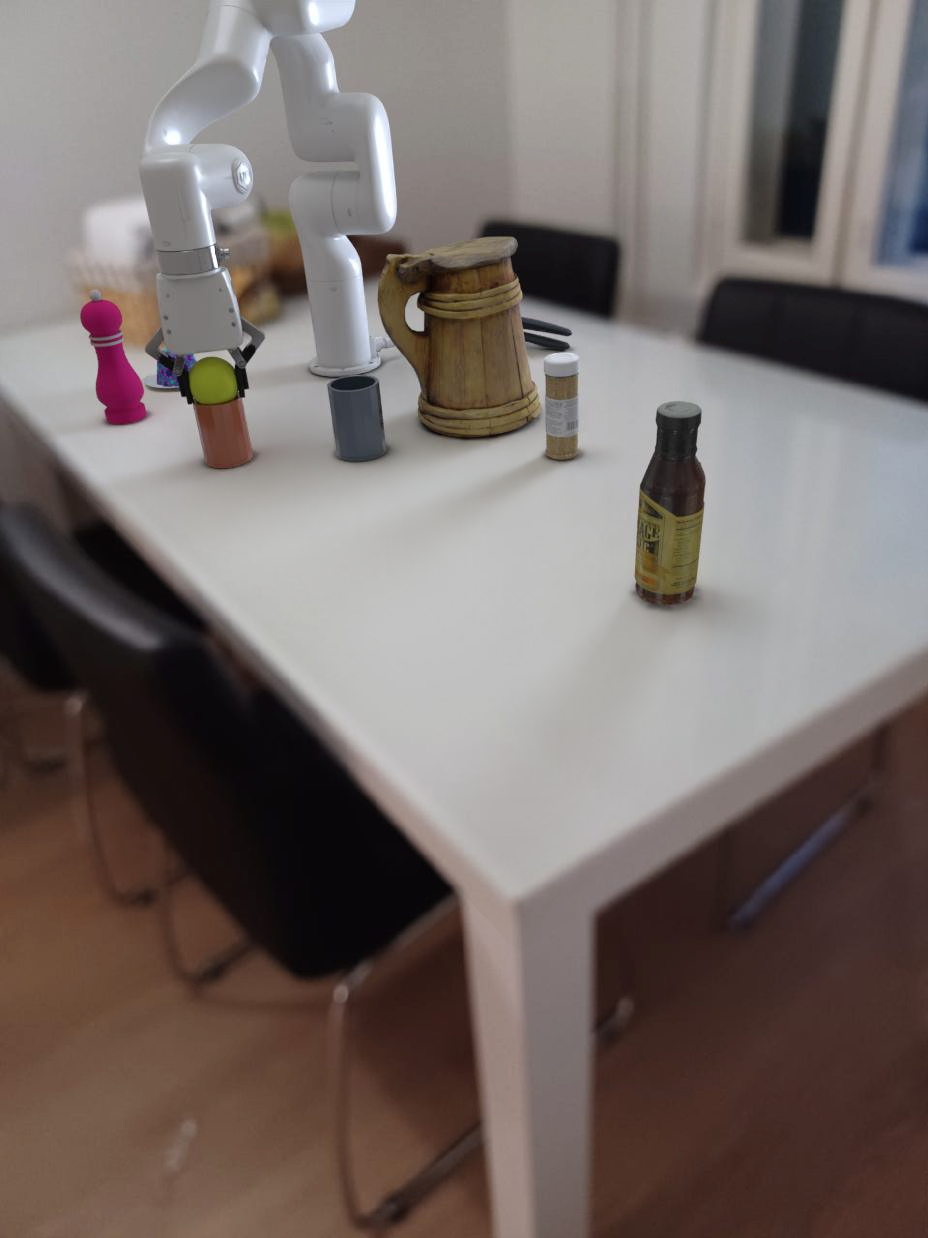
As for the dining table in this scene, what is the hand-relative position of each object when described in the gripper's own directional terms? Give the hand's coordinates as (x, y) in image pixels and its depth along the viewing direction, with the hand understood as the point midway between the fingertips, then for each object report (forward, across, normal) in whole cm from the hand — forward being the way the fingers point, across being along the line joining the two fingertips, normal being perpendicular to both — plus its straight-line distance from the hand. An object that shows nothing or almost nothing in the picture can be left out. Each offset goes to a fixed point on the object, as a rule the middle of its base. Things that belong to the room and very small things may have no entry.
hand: (216, 396), depth 131 cm
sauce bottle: (+9, -44, +53) cm, 70 cm away
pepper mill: (+9, +16, -24) cm, 30 cm away
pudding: (+9, +8, -41) cm, 42 cm away
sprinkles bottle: (+9, -45, +14) cm, 48 cm away
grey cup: (+9, -18, +4) cm, 21 cm away
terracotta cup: (+9, 0, 0) cm, 9 cm away
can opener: (+9, -54, -37) cm, 66 cm away
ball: (-2, 0, 0) cm, 2 cm away
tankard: (+9, -35, -3) cm, 36 cm away
